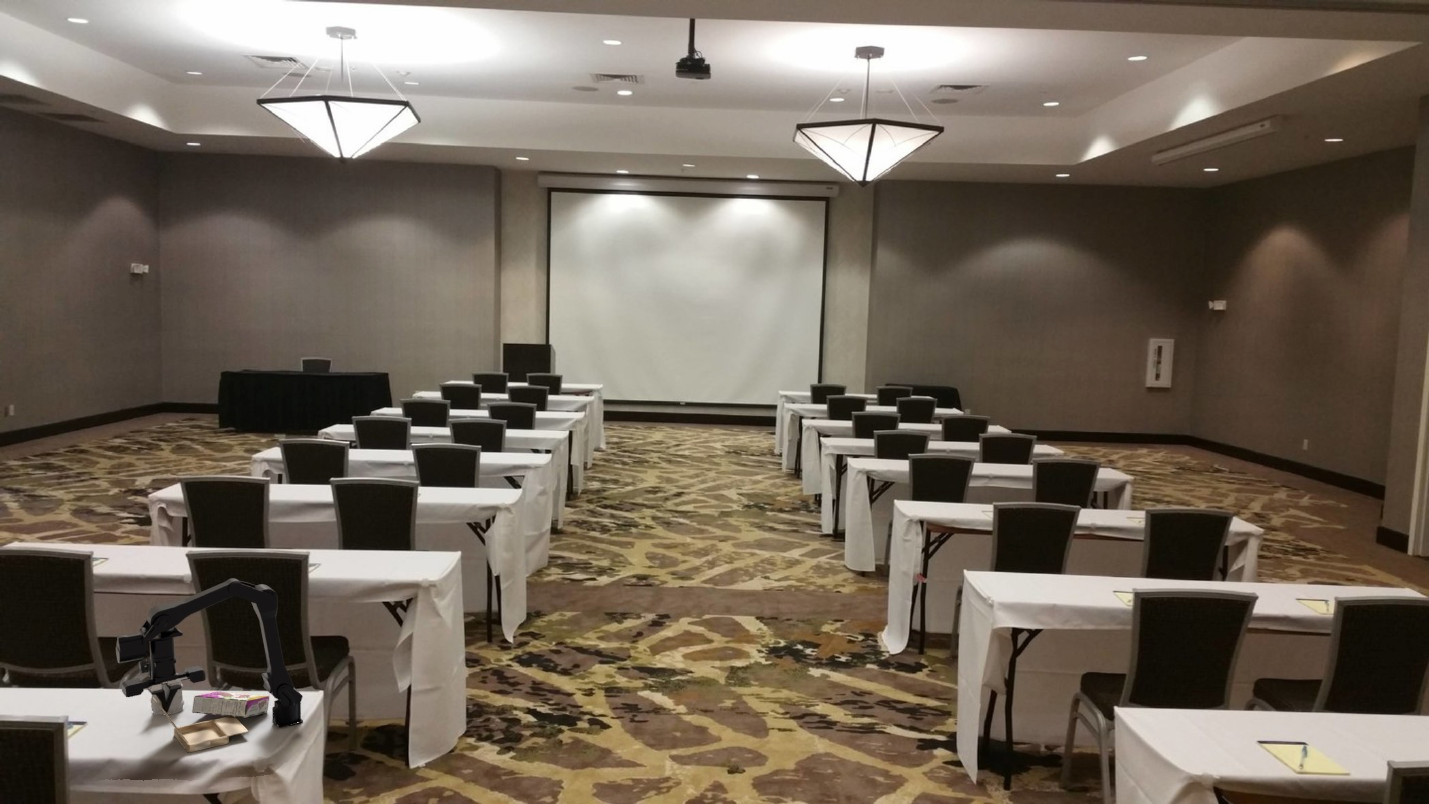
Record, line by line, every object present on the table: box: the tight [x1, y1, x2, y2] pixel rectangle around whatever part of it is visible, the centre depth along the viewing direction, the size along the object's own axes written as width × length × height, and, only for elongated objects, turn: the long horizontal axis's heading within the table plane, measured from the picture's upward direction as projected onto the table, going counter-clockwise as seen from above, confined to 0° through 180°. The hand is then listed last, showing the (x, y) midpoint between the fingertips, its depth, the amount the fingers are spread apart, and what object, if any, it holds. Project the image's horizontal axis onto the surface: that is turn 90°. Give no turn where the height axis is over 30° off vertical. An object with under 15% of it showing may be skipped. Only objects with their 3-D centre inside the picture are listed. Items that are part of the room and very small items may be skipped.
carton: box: [173, 716, 249, 753], centre depth 277 cm, size 15×15×2 cm
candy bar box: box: [191, 691, 270, 719], centre depth 291 cm, size 11×5×16 cm
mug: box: [150, 672, 185, 716], centre depth 292 cm, size 8×12×12 cm, turn 177°
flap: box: [153, 697, 188, 743], centre depth 270 cm, size 1×12×11 cm, turn 42°
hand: (165, 712), depth 269 cm, fingers closed, pressing on flap
